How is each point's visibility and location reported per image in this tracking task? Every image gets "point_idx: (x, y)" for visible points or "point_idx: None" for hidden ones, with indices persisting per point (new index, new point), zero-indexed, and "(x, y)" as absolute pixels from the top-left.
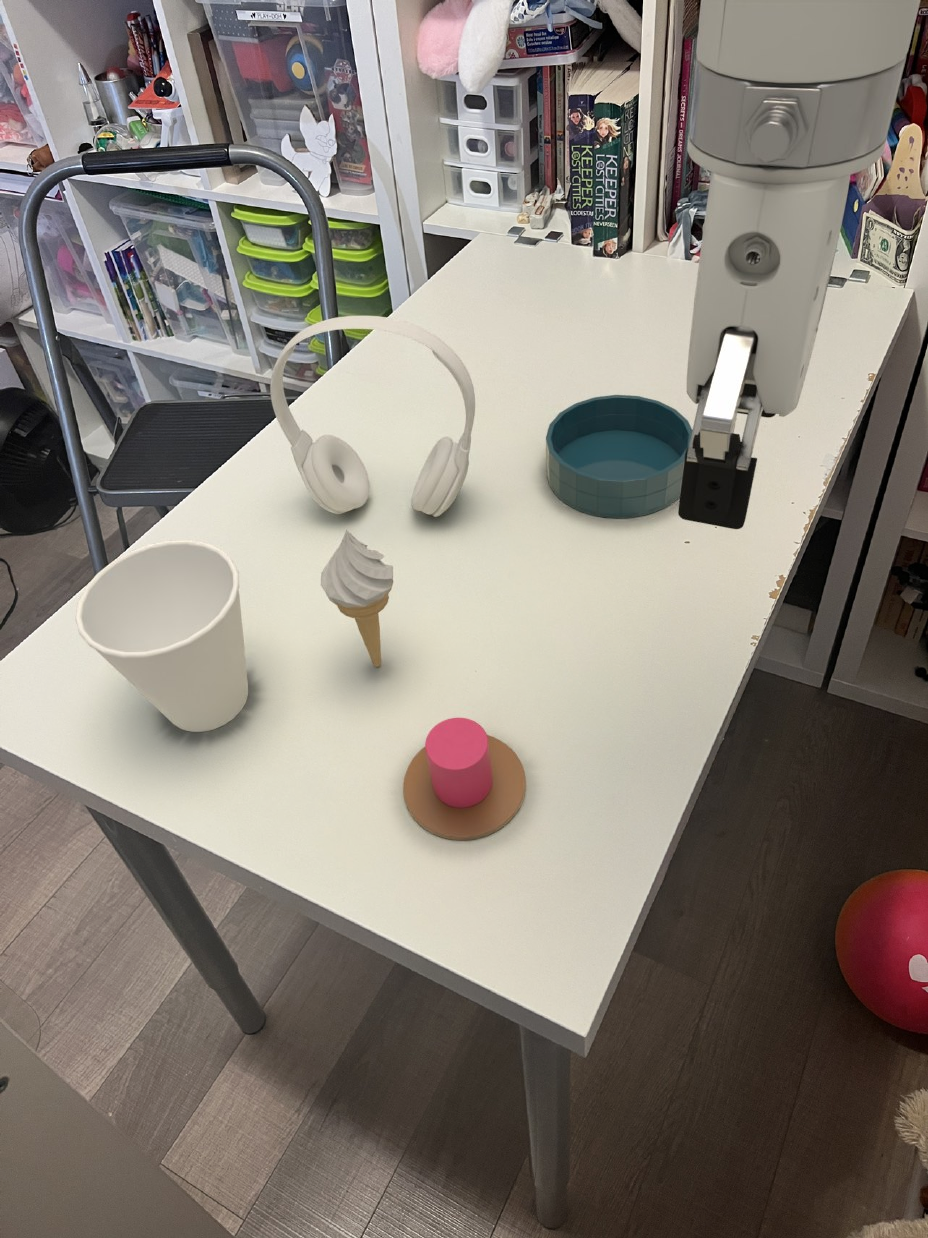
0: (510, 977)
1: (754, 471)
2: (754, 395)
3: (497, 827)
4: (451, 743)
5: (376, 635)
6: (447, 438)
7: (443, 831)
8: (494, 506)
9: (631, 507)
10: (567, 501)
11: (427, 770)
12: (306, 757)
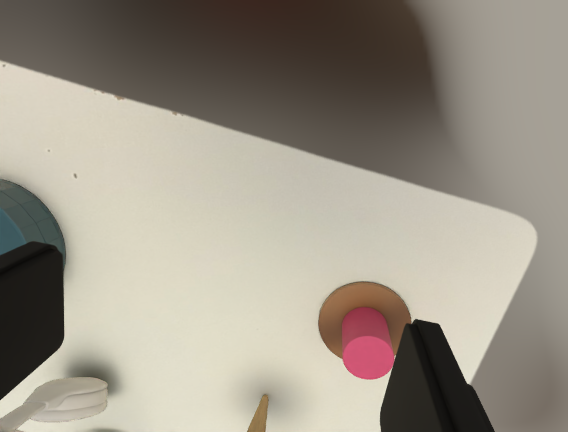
0: (513, 274)
1: (476, 429)
2: (28, 312)
3: (399, 298)
4: (369, 362)
5: (261, 421)
6: (32, 417)
7: None
8: (78, 337)
9: (50, 230)
10: None
11: None
12: (354, 425)
